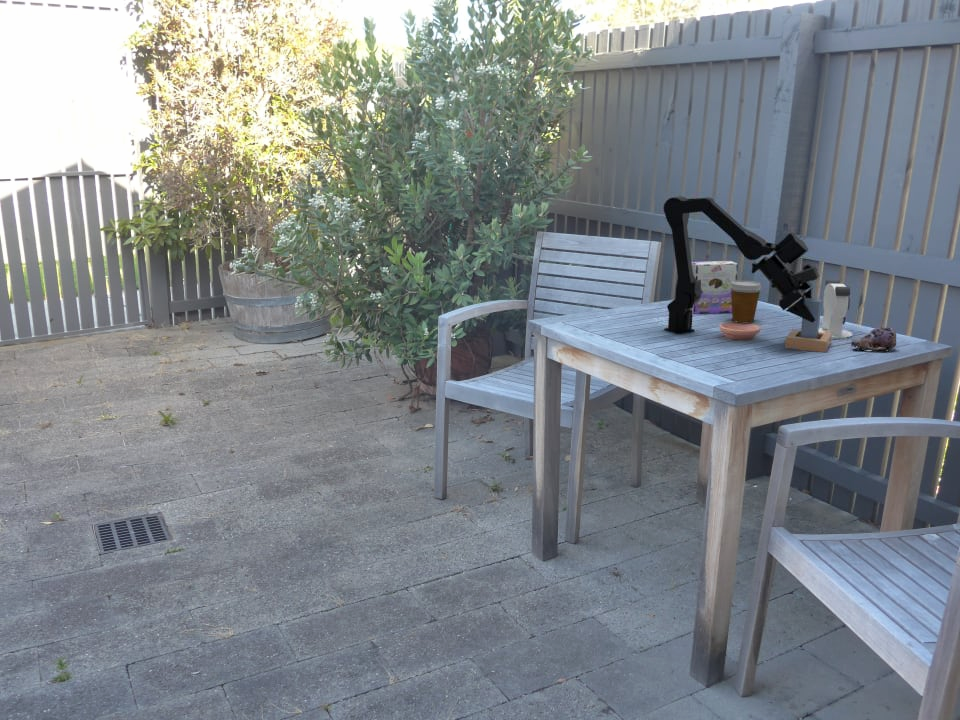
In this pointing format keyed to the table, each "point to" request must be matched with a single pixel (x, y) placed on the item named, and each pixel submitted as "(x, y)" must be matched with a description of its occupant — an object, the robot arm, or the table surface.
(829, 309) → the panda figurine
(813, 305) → the post
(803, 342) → the frame
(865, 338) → the skull
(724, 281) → the candy box
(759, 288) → the disposable coffee cup
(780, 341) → the table surface
